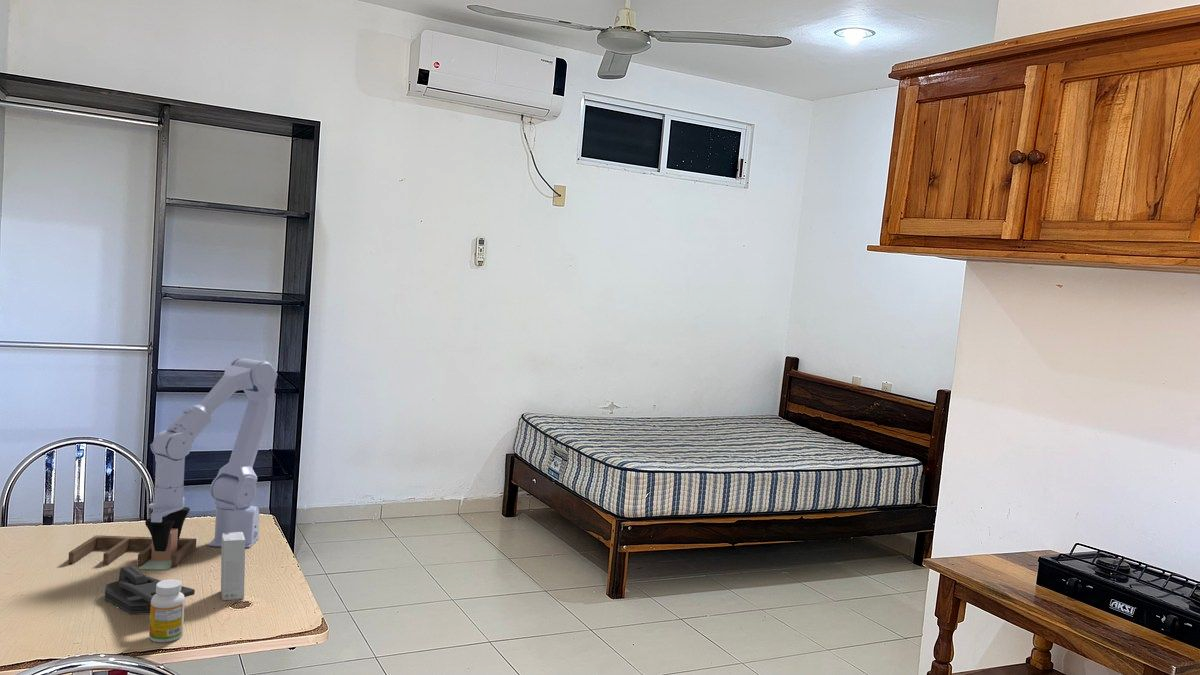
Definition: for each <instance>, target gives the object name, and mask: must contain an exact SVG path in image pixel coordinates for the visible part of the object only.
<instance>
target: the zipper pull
mask: <svg viewBox="0 0 1200 675" xmlns="http://www.w3.org/2000/svg"><path fill="white" fill-rule="evenodd" d="M160 581H161V580H160V579H158V578H153V577H151V576H147V575H146V574H145V573H144V572H142V571H141V569H139V568H137V567H136V566H133V565H128V566H123V567H121V568H120V570H119V575H118V580H116V581H113V582H110V583H107V584H106V585H105V589H104V601H105V602H107V603H108V604H110V605H112V606H114V607H115V608H117V607H118V608H117V609H119V610H120V611H122V612H124V613H126V614H128V615H147V614H150V607H151V599H152V597H153V596H154V595H155V594H157V593H156V584H157V583H158V582H160ZM180 592H181V593H182V594H183V595H184V597H185V598H188V597H190V596H195V594H196V590H195V589H194V588H190V587H186V586H183V585H181V591H180Z"/></svg>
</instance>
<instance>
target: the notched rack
mask: <svg viewBox="0 0 1200 675" xmlns="http://www.w3.org/2000/svg"><path fill="white" fill-rule="evenodd" d="M96 549H105V552H103V556H102V557H103V558H102V565H103V566H109V565H110V564H112V563H113V562H114V561H115V560H117V559H118V558H120V557H121V556H123V555H124V554H125V553H126V552H128V551H129V550H135V551H136V550H138V551H139V550H142V551H141V552H139V553H138V554H137V566H138V567H139V568H138V570H151V571H152V570H156V571H157V570H158V571H160V570H161V571H168V570H170V568H177V567H178V566H179V565H180V564H181V563H182V562H184V561H185V560H186V559H187V558H188V557H189V556H191V555H192V554H193V553H194V552H195V551H196V550H197V538H190V537H189V538H188V537H187V538H186V537H179V540H178V541H177V552H176V553H174V554H173V555H172V560H170V561H167V560H151V552H152V537H151V536H128V535H127V536H124V535H100V534H99V535H98V534H97V535H96V534H95V535H93V536H92V537H91V538H89V539H87V540H86V541H85V542H82V543H81V544H79V545H78V546H76V547H75V548H73V549H72V550H70V551H69V552H68V563H74V564H76V563H77V562H79V561H80V560H81V558H82V559H83V558H85V557H86V556H88V555H89V554H91V553H92V552H94V551H96ZM106 549H108V550H107V551H106ZM87 554H88V555H87ZM84 556H85V557H84ZM78 560H79V561H78ZM76 561H77V562H76ZM75 562H76V563H75Z"/></svg>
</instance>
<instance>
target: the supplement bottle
mask: <svg viewBox="0 0 1200 675" xmlns="http://www.w3.org/2000/svg"><path fill="white" fill-rule="evenodd" d="M181 586H182V581H180V580H179V579H172V578H171V579H170V578H169V579H164V580H160V582H158V583H157V584H156V593H157V594H155V595H154V596H153V597H152V599H151V607H150V613H149V630H148V631H149V632H148V633H149V635H148V636H149V639H150V641H153V642H156V643H169V642H173V641H177V640H178V639H180V638H182V636H183V634H184V622H185V620H184V619H185V602H186V600H185V598H186V597H184V595H183V594H182V593H181V592H180V591H181Z"/></svg>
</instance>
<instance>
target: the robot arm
mask: <svg viewBox="0 0 1200 675" xmlns="http://www.w3.org/2000/svg"><path fill="white" fill-rule="evenodd" d="M277 378H278V373H277V371H276V368H275V367H274V365H273V364H272V363H271V362H269V361H267V360H259V359H250V358H247V357H243V356H239V357H236V358H235V359H233V360H232V362H231V363H230V364H229V365H228V366H226V367H225V368H224V373H223V376H222V377H220V379H219V380H218V381H217V383H215V385H213V387H212V388H211V390H210V391H209V392H208V393H207V394H206V395H205V397H204V398H203V399H202V400H201V401H200V403H199V404H194V405H192V404H191V405H190V406H189V407H187V406H186V407H185V408H184V409H183V410H182V414H181V415H180V416H179V417H178V418H177V419H176V420H175V421H174V422H173V423H172V424H170V425H169V426H168V427H167V429H166V430H163V431H160V432H158V433H157V434H156V435H155V436H154V438H153V441H152V443H150V444H149V445H150V450H151V452H152V453H153V454H154V462H155V472H154V473H155V474H154V475H155V479H154V503H153V502H152V503H149V504H148V506H147V508H148V509H152V512H151V513H150V518H149V517H148V518H147V519H145V521H144V522H145V524H144V525H145V526H146V528H147V529H148V532H149V534H150V537H152V540H153V545H154V549H155V551H163V552H164V551H166V549H167V545H168V539H169V534H170V531H171V528H172V529H178V540H179V538H181V533H182V529H183V525H184V524H185V523H184V522H185V520H186V518H187V516H188V514H190V511H191V509H190V508H191V507H189V506H188V507H186V506H185V502H186V500H185V499H186V498H185V496H184V488H185V487H184V486H185V484H184V482H185V463H186V462H185V460H186V457H187V456H188V455H189V454H190V452H191V451H192V448H193V444H194V442H195V441H194V440H196V438H197V437H199V435H201V433H203V431H204V430H205V429H206V428H208V426H209V425H210V423H212V414H213V413H214V412H215V411H217V409H218V408H219V407H221V406H222V405H223V404H224V403H225V402H226V401H227V400H229V398H230V397H231V396H232V395H234V393H236V392H239V391H243V392H244V393H245V396H246V397H247V399H248V402H247V404H246V409H245V410H244V414H243V417H242V420H241V424H240V426H239V429H238V432H237V435H236V440H235V442H234V446H233V447H232V450H231V454H230V457H229V461H228V463H225V465H223V466H222V467H221V468H219V470H218V472H217V475H216V477H215V478H214V479H213V480H212V482H211V484H210V486H209V494H210V496H211V498H212V499H213V500H214V504H215V520H214V521H215V522H214V524H215V526H214V539H212V540H211V541H210V542H209V543H208V547H222V534H223V533H233V532H243V534H244V537H245V548H251V547H252V546H253V545H254V543H256V542H257V541H258V539H260V536H259V530H260V528H259V527H260V526H259V525H260V509H259V507H258V506H256V505H255V506H253V505H251V504H252V503H253V502H254V500H255V498H256V496H257V482H258V476H257V474H256V472H255V471H254V468H253V467H254V464H255V461H256V457H257V455H258V451H259V448H260V445H261V442H262V439H263V436H264V432H265V429H266V427H267V423H268V420H269V417H270V413H271V411H272V407H273V404H274V400H275V398H276V397H275V396H276V395H275V392H276V391H275V385H276V380H277ZM178 540H177V541H178Z"/></svg>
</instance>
